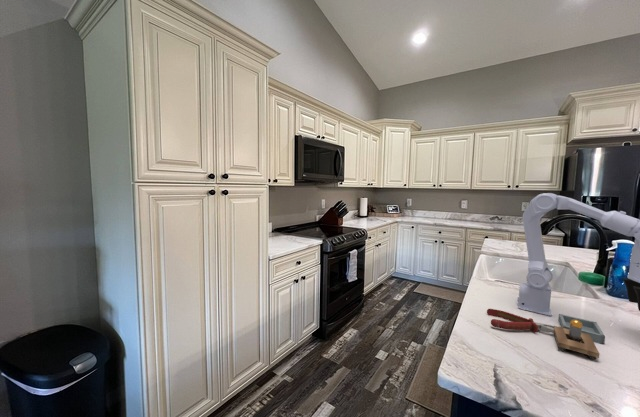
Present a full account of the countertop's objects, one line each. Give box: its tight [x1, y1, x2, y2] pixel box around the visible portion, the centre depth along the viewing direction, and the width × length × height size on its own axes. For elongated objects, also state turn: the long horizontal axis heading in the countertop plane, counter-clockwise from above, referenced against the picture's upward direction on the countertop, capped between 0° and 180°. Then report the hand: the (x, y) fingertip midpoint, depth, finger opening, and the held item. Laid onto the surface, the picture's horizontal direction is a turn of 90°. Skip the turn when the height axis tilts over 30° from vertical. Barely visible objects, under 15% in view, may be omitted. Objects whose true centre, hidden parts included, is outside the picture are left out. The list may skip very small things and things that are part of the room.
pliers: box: [486, 308, 555, 334], centre depth 84 cm, size 12×20×3 cm, turn 63°
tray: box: [557, 313, 606, 345], centre depth 83 cm, size 9×10×2 cm
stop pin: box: [568, 319, 582, 343], centre depth 75 cm, size 3×3×8 cm
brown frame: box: [553, 325, 600, 360], centre depth 75 cm, size 8×11×2 cm
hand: (639, 306), depth 79 cm, fingers open, 7 cm apart
